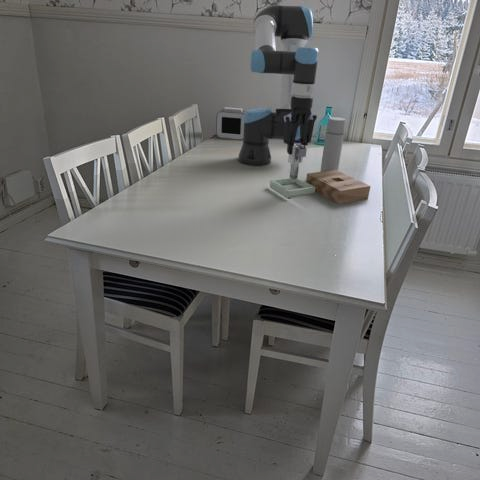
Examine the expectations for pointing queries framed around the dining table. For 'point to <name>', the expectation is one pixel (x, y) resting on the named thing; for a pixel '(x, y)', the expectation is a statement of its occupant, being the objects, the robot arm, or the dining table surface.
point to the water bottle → (333, 144)
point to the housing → (338, 186)
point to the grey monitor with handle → (230, 123)
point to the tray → (285, 192)
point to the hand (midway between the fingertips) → (295, 162)
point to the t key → (296, 160)
